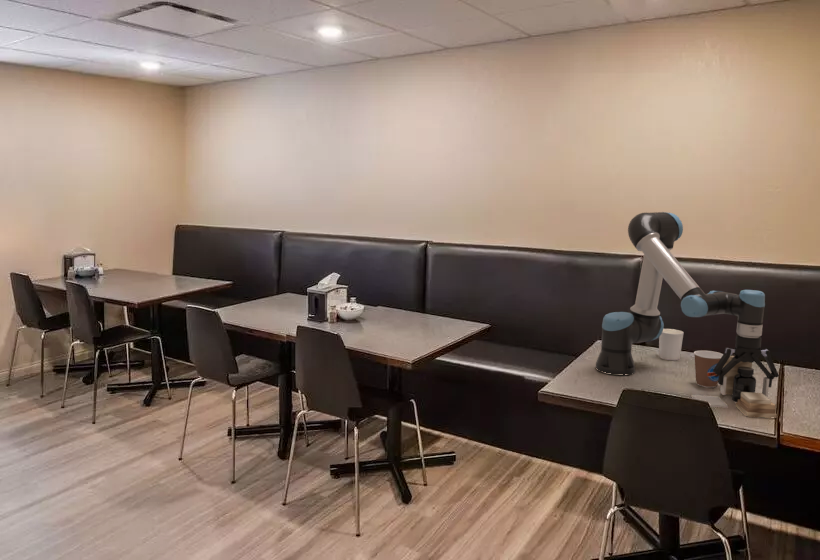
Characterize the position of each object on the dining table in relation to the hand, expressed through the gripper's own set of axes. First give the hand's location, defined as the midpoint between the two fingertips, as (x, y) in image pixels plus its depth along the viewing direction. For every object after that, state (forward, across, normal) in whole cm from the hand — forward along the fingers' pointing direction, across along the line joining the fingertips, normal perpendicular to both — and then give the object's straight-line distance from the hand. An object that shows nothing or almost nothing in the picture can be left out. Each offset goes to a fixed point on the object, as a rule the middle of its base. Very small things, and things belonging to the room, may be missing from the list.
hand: (743, 395), depth 201 cm
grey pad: (+2, -12, -3) cm, 13 cm away
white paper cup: (+2, -10, +53) cm, 54 cm away
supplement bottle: (+3, 0, 0) cm, 3 cm away
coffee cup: (+2, -6, +17) cm, 18 cm away
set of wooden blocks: (+2, 0, -4) cm, 5 cm away
